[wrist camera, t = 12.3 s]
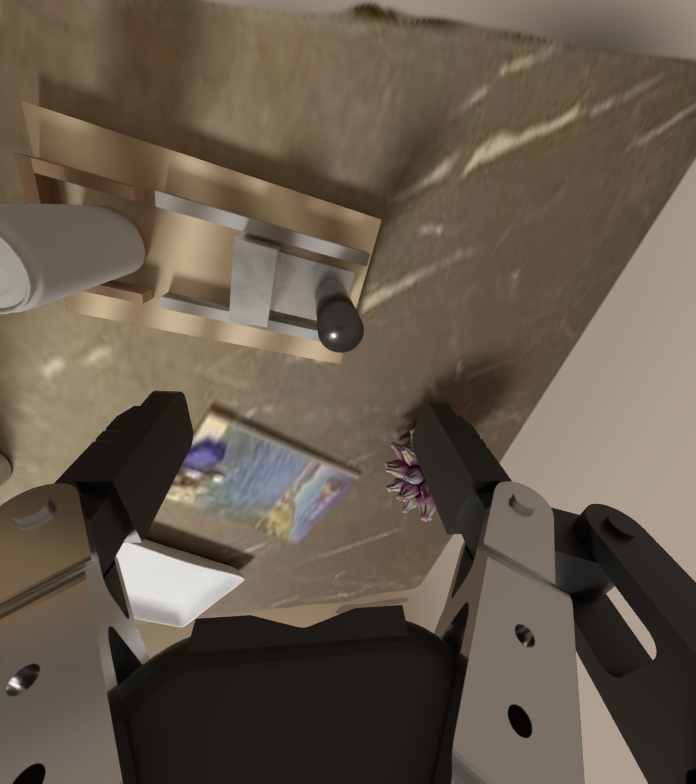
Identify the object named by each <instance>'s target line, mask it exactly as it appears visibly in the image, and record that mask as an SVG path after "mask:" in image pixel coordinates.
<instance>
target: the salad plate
mask: <svg viewBox="0 0 696 784" xmlns="http://www.w3.org/2000/svg"><path fill="white" fill-rule="evenodd" d="M116 557H117V559H118V561H119V565H120V568H121V572H122V576H123V580H124V583H125V587H126V591H127V594H128V598H129V602H130V606H131V609H132V613H133V617H134V619H139V620H144V621H149V622H155V623H160V624H167V625H171V626H176V627H184V626H186V625H187V624H188V623H190V622H191V621H192V620H193V619H195V618H196V617H197V616H199V615H200V614H201V613H202V612H204V611H205V610H206V609H208V608H209V607H210V606H211V605H213V604H214V603H215V602H217V601H218V600H219V599H220V598H222V597H223V596H224V595H226V594H227V593H229V592H230V591H231V590H233V589H234V588H235V587H237V586H238V585H239V584H240V583H242V582H243V581H244V579H245V578H244V576H243V574H242V573H241V572H240V571H239V570H237V569H236V568H234V567H231V566H229V565H226V564H222V563H219V562H215V561H213V560H209V559H206V558H203V557H200V556H197V555H194V554H191V553H188V552H184V551H181V550H178V549H174V548H171V547H168V546H165V545H161V544H158V543H155V542H152V541H149V540H146V539H143V541H142V542H141V543H123V544H122V546H121V548H120V550H119V551H118V553H117V555H116Z"/></svg>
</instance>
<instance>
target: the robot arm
mask: <svg viewBox="0 0 696 784" xmlns="http://www.w3.org/2000/svg"><path fill="white" fill-rule="evenodd" d="M192 440H193V429H192V424H191V420H190V415H189V411H188V407H187V402H186V398H185V395H184V394H183V393H182V392H175V391H153V392H152V393H151V394H150V395H149V396H148V398H147V399H146V400H145V401H144V402H143V403H142V404H141V406H134V407H132V408H130V409H129V410H127V411H125V412H124V413H122V414H120V415H118V416H117V417H116V418H115V419H114V420H113V421H112V422H111V423H110V424H109V425H108V427H107V428H106V431H103V432H102V433H101V434H100V435H99V436H98V437H97V438H96V442H93V443H92V444H91V445H90V446H89V447H88V448H87V449H86V450H85V451H84V452H83V453H82V454H81V455H80V456H79V457H78V459H77V460H76V461H75V462H74V463H73V464H72V465H71V466H70V467H69V468H68V469H67V470H66V471H65V472H64V473H63V474H62V476H61V477H60V478H59V479H58V480H57V481H56V482H55V483H54V484H47V485H43V486H39V487H36V488H33V489H30V490H27V491H25V492H23V493H21V494H19V495H17V496H15V497H13V498H11V499H10V500H8V501H7V502H5V503H4V504H2V505H1V506H0V784H585V781H584V766H583V751H582V737H581V721H580V706H579V693H578V692H579V691H578V678H577V663H576V651H577V653H578V655H579V657H580V659H581V661H582V663H583V665H584V666H585V668H586V670H587V672H588V674H589V676H590V677H591V679H592V681H593V683H594V685H595V686H596V688H597V690H598V692H599V694H600V696H601V697H602V699H603V701H604V703H605V705H606V707H607V709H608V710H609V712H610V714H611V716H612V718H613V720H614V721H615V723H616V725H617V727H618V729H619V731H620V732H621V734H622V736H623V738H624V740H625V742H626V743H627V745H628V747H629V749H630V751H631V753H632V755H633V756H634V758H635V760H636V762H637V764H638V766H639V767H640V769H641V771H642V773H643V775H644V777H645V778H646V780H647V782H648V784H696V582H695V581H694V580H693V579H692V578H691V577H690V576H689V575H688V574H687V573H686V572H685V571H684V570H683V569H682V568H681V567H680V566H679V565H678V564H677V563H676V562H675V561H674V560H673V558H672V557H671V556H670V555H669V554H668V553H667V552H666V551H665V550H664V549H663V548H662V547H661V546H660V545H659V544H658V543H657V542H656V541H655V540H654V539H653V538H652V537H651V536H650V535H649V534H648V533H647V532H646V530H645V529H643V528H642V527H641V526H640V525H639V524H638V523H637V522H636V521H634V520H633V519H632V518H630V517H629V516H627V515H626V514H624V513H622V512H620V511H619V510H616V509H614V508H612V507H609V506H606V505H602V504H591V505H589V506H588V507H587V508H586V509H585V510H584V511H583V512H582V513H581V515H577V514H573V513H570V512H566V511H562V510H559V509H555V508H551V507H550V506H549V504H548V503H547V502H546V500H544V498H543V497H542V496H540V495H539V494H538V493H537V492H535V491H534V490H532V489H531V488H529V487H527V486H525V485H523V484H520V483H516V482H512V481H511V479H510V478H509V476H508V475H507V474H506V472H505V471H504V469H503V468H502V467H501V465H500V464H499V462H498V461H497V460H496V458H495V457H494V455H493V454H492V453H491V451H490V450H489V449H488V448H486V444H485V443H484V442H483V440H482V439H480V436H479V435H478V433H477V432H476V430H475V429H474V428H473V426H472V425H470V424H469V423H468V422H467V421H465V420H464V419H463V418H461V417H460V416H456V415H455V413H454V412H453V410H452V409H451V407H450V406H449V404H448V403H446V402H428V401H425V402H424V403H423V404H422V406H421V410H420V413H419V416H418V420H417V423H416V426H415V430H414V433H413V438H412V445H413V450H414V453H415V456H416V458H417V461H418V463H419V466H420V468H421V471H422V473H423V475H424V478H425V480H426V483H427V485H428V488H429V490H430V493H431V495H432V498H433V500H434V503H435V505H436V508H437V510H438V513H439V515H440V517H441V520H442V522H443V525H444V527H445V530H446V532H447V534H462V536H463V538H464V541H465V542H464V543H463V545H462V548H461V551H460V555H459V558H458V562H457V565H456V569H455V573H454V576H453V580H452V584H451V587H450V591H449V594H448V598H447V601H446V604H445V608H444V610H443V613H442V615H441V617H440V619H439V622H438V624H437V627H436V630H435V633H432V632H430V631H429V630H427V629H425V628H423V627H421V626H419V625H417V624H414V623H412V622H408V621H406V620H405V616H404V611H403V607H402V605H398V606H382V607H367V608H355V609H352V610H350V611H347V612H345V613H342V614H339V615H337V616H334V617H332V618H330V619H327V620H324V621H322V622H319V623H317V624H314V625H312V626H310V627H306V628H300V627H295V626H291V625H287V624H283V623H279V622H275V621H271V620H267V619H263V618H259V617H255V616H251V615H249V616H248V615H247V616H232V617H217V618H202V619H196V620H195V624H194V627H193V631H192V634H191V637H188V638H186V639H183V640H181V641H179V642H177V643H175V644H173V645H171V646H169V647H167V648H166V649H164V650H163V651H161V652H160V653H158V654H156V655H155V656H153V657H152V658H151V659H149V657H148V654H147V651H146V649H145V646H144V644H143V641H142V639H141V637H140V635H139V632H138V630H137V627H136V624H135V620H134V617H133V613H132V609H131V606H130V602H129V598H128V594H127V591H126V587H125V583H124V580H123V576H122V572H121V568H120V565H119V561H118V559H117V557H116V555H117V553H118V551H119V550H120V548H121V546H122V544H123V543H141V542H142V541H143V539H144V537H145V536H146V534H147V532H148V530H149V528H150V526H151V524H152V522H153V520H154V518H155V516H156V514H157V512H158V510H159V508H160V506H161V504H162V502H163V500H164V498H165V497H166V495H167V493H168V491H169V489H170V487H171V485H172V483H173V481H174V479H175V477H176V475H177V473H178V471H179V469H180V467H181V465H182V463H183V461H184V459H185V458H186V456H187V454H188V452H189V450H190V448H191V445H192ZM11 471H12V470H11V466H10V464H9V462H8V461H7V459H6V458H5V457H4V456H3V455H2V454H1V453H0V487H1V486H2V485H3V484H4V483H5V482H6V481H7V480H8V479H9V477H10V476H11ZM614 586H616V588H617V589H618V590H619V592H620V593H621V594H622V596H623V597H624V599H625V600H626V601H627V602H628V604H629V605H630V607H631V608H632V609H633V610H634V612H635V613H636V615H637V616H638V617H639V619H640V620H641V621H642V623H643V624H644V625H645V627H646V628H647V630H648V631H649V632H650V634H651V636H652V638H653V640H654V642H655V645H656V650H657V653H656V658H655V659H654V660H652V659H651V657H650V656H649V655H648V653H647V652H646V650H645V649H644V648H643V646H642V645H641V643H640V642H639V640H638V639H637V637H636V636H635V635H634V633H633V632H632V630H631V629H630V627H629V626H628V625H627V623H626V622H625V620H624V619H623V618H622V616H621V615H620V613H619V612H618V610H617V609H616V608H615V606H614V605H613V603H612V602H611V600H610V599H609V598H608V596H607V595H606V593H607V592H608V591H609V590H611V589H612V588H613V587H614Z"/></svg>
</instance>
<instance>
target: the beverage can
mask: <svg viewBox="0 0 696 784" xmlns="http://www.w3.org/2000/svg"><path fill="white" fill-rule="evenodd" d="M144 259H145V247H144V243H143V240H142V238H141V236H140V234H139V232H138V230H137V228H136V227H135V226H134V224H133V223H132V222H131V221H130V220H129V219H128V218H127V217H126V216H125V215H123V214H122V213H120V212H118V211H117V210H115V209H113V208H110V207H107V206H103V205H72V204H26V203H0V314H8V313H11V312H15V313H19V312H23V311H26V310H30V309H33V308H36V307H39V306H42V305H45V304H47V303H50V302H53V301H56V300H58V299H61V298H64V297H67V296H69V295H72V294H75V293H78V292H80V291H83V290H86V289H89V288H91V287H94V286H97V285H100V284H103V283H105V282H108V281H111V280H114V279H116V278H119V277H122V276H125V275H127V274H130V273H133V272H135V271H136V270H138V269H139V268H140V267H141V266H142V264H143V263H144Z"/></svg>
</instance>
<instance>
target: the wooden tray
mask: <svg viewBox="0 0 696 784" xmlns="http://www.w3.org/2000/svg"><path fill="white" fill-rule="evenodd" d="M21 104H22V109H23V114H24V118H25V123H26V127H27V132H28V136H29V141H30V145H31V150H32V155H33V156H27V155H22V154H17V153H15V154H16V158H17V162H18V166H19V170H20V174H21V179H22V183H23V187H24V191H25V195H26V199H27V203H28V204H72V205H103V206H107V207H110V208H113V209H115V210H117V211H118V212H120V213H122V214H123V215H125V216H126V217H127V218H128V219H129V220H130V221H131V222H132V223H133V224H134V226H135V227H136V228H137V230H138V232H139V234H140V236H141V238H142V240H143V243H144V247H145V259H144V263H143V264H142V266H141V267H140V268H139V269H138V270H136V271H135V272H133V273H130V274H127V275H125V276H122V277H119V278H116V279H114V280H111V281H108V282H105V283H103V284H100V285H97V286H94V287H91V288H89V289H86V290H83V291H80V292H78V293H75V294H72V295H69V296H67V297H64V301H65V305H66V310H67V311H69V312H74V313H79V314H84V315H89V316H94V317H99V318H105V319H110V320H115V321H120V322H125V323H130V324H136V325H141V326H146V327H151V328H156V329H161V330H166V331H172V332H177V333H182V334H187V335H192V336H197V337H203V338H208V339H213V340H218V341H223V342H228V343H233V344H239V345H244V346H249V347H254V348H259V349H264V350H270V351H275V352H280V353H285V354H290V355H295V356H300V357H306V358H311V359H316V360H321V361H326V362H331V363H337V364H341V360H342V357H343V353H344V352H343V353H337V352H333V351H330V350H328V349H327V348H326V347H324V346H323V344H322V343H321V341H320V339H319V336H318V327H317V321H316V320H311V319H307V318H303V317H298V316H294V315H289V314H285V313H281V312H276V311H272V314H271V317H270V320H269V323H268V326H267V328H266V327H262V326H257V325H252V324H247V323H243V322H238V321H233V320H229V310H230V294H231V279H232V264H233V249H234V238H236V237H239V236H241V235H244V234H246V235H249V236H253V237H256V238H260V239H263V240H267V241H270V242H274V243H278V244H281V251H283V252H286V253H290V254H293V255H297V256H301V257H304V258H308V259H311V260H315V261H319V262H322V263H326V264H329V265H333V266H337V267H340V268H344V269H347V270H351V271H354V276H353V280H352V284H351V287H350V291H349V296H350V298H351V300H352V302H353V304H354V306H355V308H357V304H358V301H359V297H360V294H361V290H362V287H363V283H364V280H365V276H366V273H367V269H368V266H369V262H370V259H371V255H372V252H373V248H374V245H375V241H376V238H377V234H378V231H379V227H380V224H381V221H382V220H381V219H378V218H375V217H372V216H369V215H366V214H363V213H360V212H357V211H354V210H351V209H348V208H345V207H342V206H339V205H336V204H333V203H330V202H327V201H324V200H321V199H318V198H315V197H312V196H309V195H306V194H303V193H299V192H296V191H293V190H290V189H287V188H284V187H281V186H278V185H275V184H272V183H269V182H266V181H263V180H260V179H257V178H254V177H251V176H248V175H245V174H242V173H239V172H236V171H233V170H230V169H227V168H224V167H221V166H218V165H215V164H212V163H209V162H206V161H203V160H200V159H197V158H194V157H191V156H188V155H185V154H182V153H179V152H175V151H172V150H169V149H166V148H163V147H160V146H157V145H154V144H151V143H148V142H145V141H142V140H139V139H136V138H133V137H130V136H127V135H124V134H121V133H118V132H115V131H112V130H109V129H106V128H103V127H100V126H97V125H94V124H91V123H88V122H85V121H82V120H79V119H76V118H73V117H70V116H67V115H64V114H61V113H58V112H55V111H52V110H48V109H45V108H42V107H39V106H36V105H33V104H30V103H27V102H24V101H21Z"/></svg>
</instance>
